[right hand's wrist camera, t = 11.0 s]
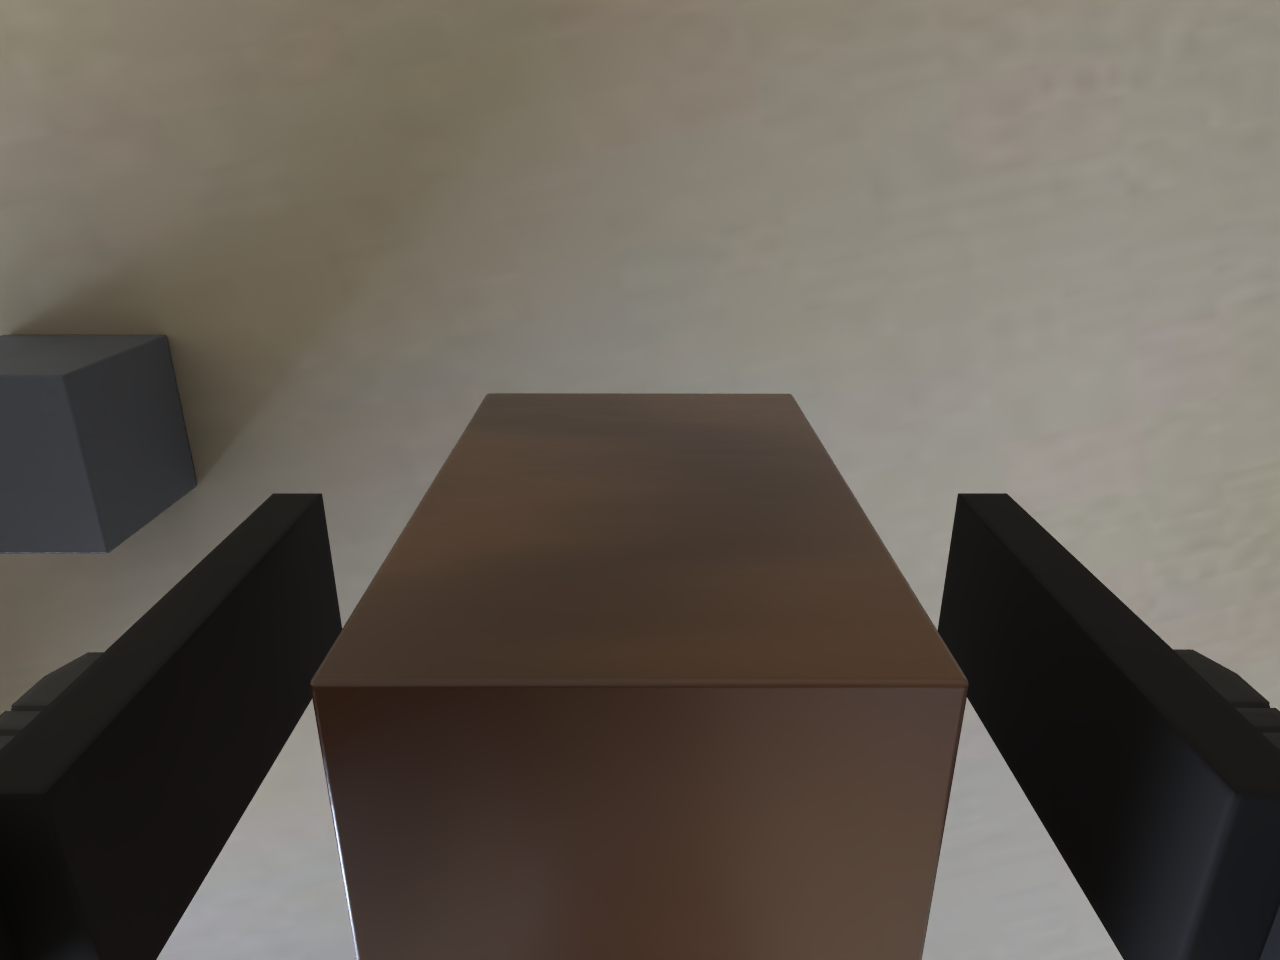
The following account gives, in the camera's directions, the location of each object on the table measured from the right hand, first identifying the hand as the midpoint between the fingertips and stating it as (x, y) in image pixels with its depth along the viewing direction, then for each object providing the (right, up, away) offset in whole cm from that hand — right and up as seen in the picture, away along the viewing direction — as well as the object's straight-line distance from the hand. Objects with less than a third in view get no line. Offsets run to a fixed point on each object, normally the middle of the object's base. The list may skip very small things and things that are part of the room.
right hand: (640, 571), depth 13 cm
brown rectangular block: (0, -8, +5) cm, 10 cm away
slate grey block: (-17, +4, +13) cm, 22 cm away
